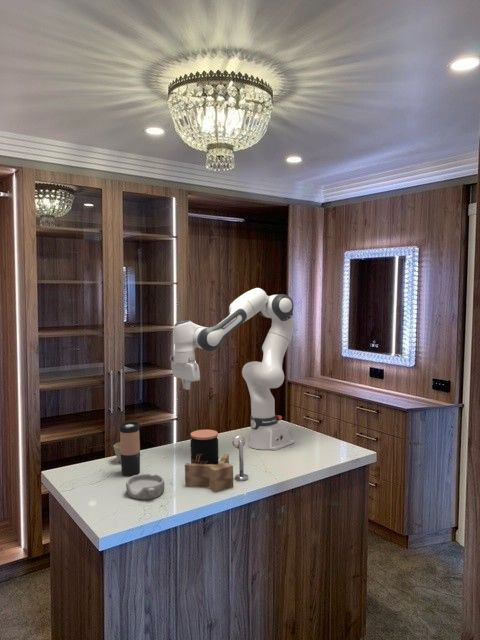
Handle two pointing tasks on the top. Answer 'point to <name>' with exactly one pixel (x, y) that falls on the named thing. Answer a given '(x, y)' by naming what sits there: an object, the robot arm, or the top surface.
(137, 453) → the travel mug
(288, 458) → the top surface
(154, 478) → the dish
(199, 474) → the wooden l-shaped bracket
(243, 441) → the metal ball stand
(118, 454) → the flower pot
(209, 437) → the coffee jar
